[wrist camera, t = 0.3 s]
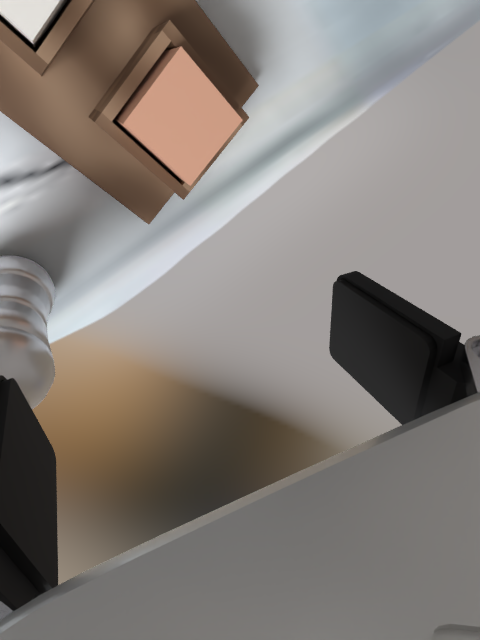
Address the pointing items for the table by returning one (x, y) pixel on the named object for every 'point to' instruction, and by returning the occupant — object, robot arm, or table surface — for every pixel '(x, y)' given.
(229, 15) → the table surface
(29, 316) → the plastic bottle
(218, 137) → the terracotta key
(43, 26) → the white square block
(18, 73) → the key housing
